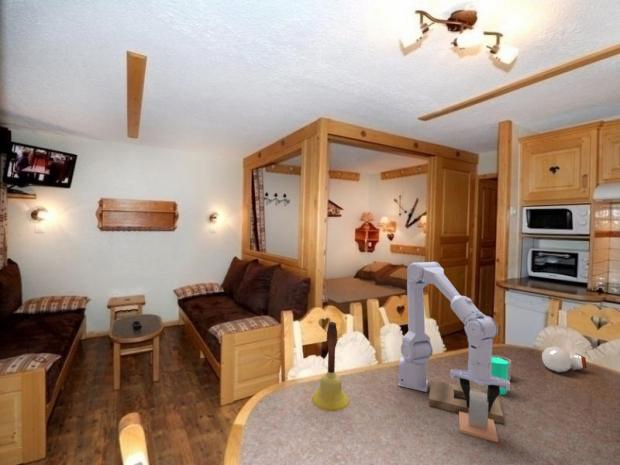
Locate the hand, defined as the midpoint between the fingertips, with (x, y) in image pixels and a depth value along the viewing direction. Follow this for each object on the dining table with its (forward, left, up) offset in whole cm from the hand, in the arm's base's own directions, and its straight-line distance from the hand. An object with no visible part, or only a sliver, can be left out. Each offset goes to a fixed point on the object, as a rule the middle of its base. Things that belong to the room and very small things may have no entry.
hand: (477, 408), depth 86 cm
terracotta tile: (0, 0, -6) cm, 6 cm away
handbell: (-42, -6, -6) cm, 43 cm away
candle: (+8, +25, -6) cm, 27 cm away
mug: (+9, +37, -6) cm, 39 cm away
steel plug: (0, 0, -5) cm, 5 cm away
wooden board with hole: (-3, +11, -6) cm, 13 cm away
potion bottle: (+34, +55, -6) cm, 65 cm away
